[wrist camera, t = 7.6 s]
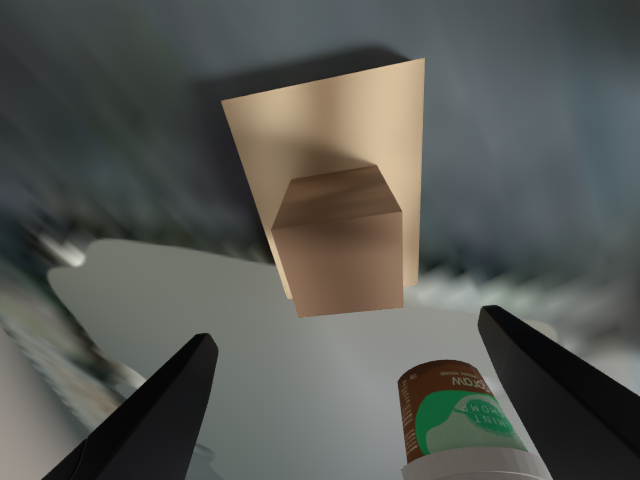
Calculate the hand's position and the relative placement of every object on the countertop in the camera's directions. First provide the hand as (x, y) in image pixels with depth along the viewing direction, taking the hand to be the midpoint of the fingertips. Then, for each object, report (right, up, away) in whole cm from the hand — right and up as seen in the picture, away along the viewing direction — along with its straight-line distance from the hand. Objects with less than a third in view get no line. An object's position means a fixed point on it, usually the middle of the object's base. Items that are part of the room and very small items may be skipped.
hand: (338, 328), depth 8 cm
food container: (+13, -11, +20) cm, 26 cm away
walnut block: (+1, +5, +8) cm, 9 cm away
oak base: (+1, +6, +9) cm, 11 cm away
